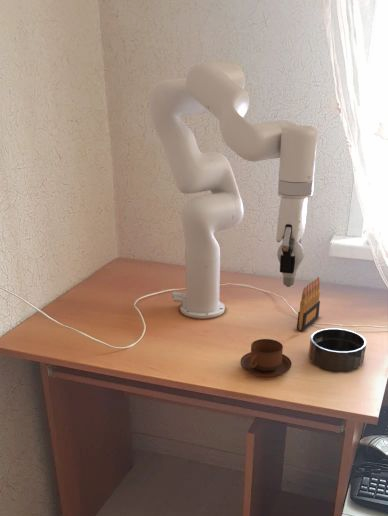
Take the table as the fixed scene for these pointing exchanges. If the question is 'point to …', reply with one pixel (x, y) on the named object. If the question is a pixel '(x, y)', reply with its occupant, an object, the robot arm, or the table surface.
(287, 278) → the lightbulb
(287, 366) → the cup and saucer
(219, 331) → the table surface
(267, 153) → the robot arm
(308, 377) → the table surface
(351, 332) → the bowl
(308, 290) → the ammunition clip
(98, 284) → the table surface
